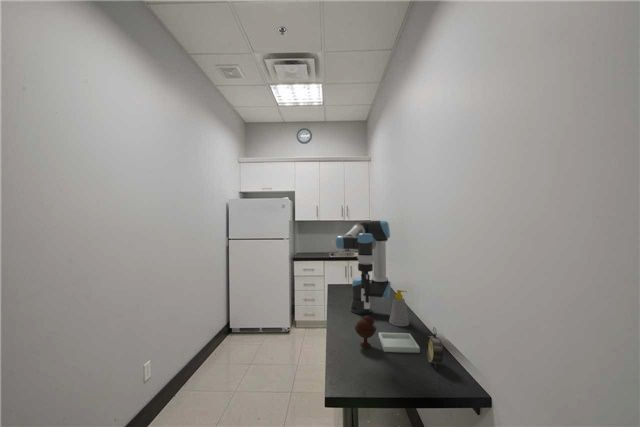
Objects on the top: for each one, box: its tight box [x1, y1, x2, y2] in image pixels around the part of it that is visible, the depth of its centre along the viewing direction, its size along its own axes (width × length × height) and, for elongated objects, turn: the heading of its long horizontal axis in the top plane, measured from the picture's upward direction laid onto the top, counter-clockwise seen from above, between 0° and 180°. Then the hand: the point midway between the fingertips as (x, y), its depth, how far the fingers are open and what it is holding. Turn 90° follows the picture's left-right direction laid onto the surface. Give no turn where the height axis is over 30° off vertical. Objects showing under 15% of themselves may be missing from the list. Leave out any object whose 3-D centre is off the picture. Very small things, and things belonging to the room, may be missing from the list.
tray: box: [378, 332, 421, 354], centre depth 139 cm, size 17×17×2 cm
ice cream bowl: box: [354, 314, 377, 349], centre depth 138 cm, size 11×11×15 cm
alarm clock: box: [425, 326, 445, 370], centre depth 120 cm, size 11×5×16 cm, turn 174°
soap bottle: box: [388, 289, 410, 328], centre depth 170 cm, size 12×12×20 cm
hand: (365, 304), depth 139 cm, fingers open, 13 cm apart
